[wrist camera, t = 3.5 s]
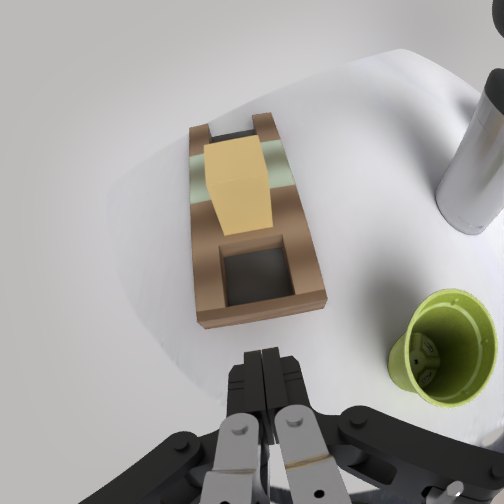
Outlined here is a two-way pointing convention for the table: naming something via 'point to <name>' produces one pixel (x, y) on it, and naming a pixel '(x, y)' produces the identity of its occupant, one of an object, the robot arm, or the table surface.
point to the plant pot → (446, 349)
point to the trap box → (252, 244)
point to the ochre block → (238, 184)
